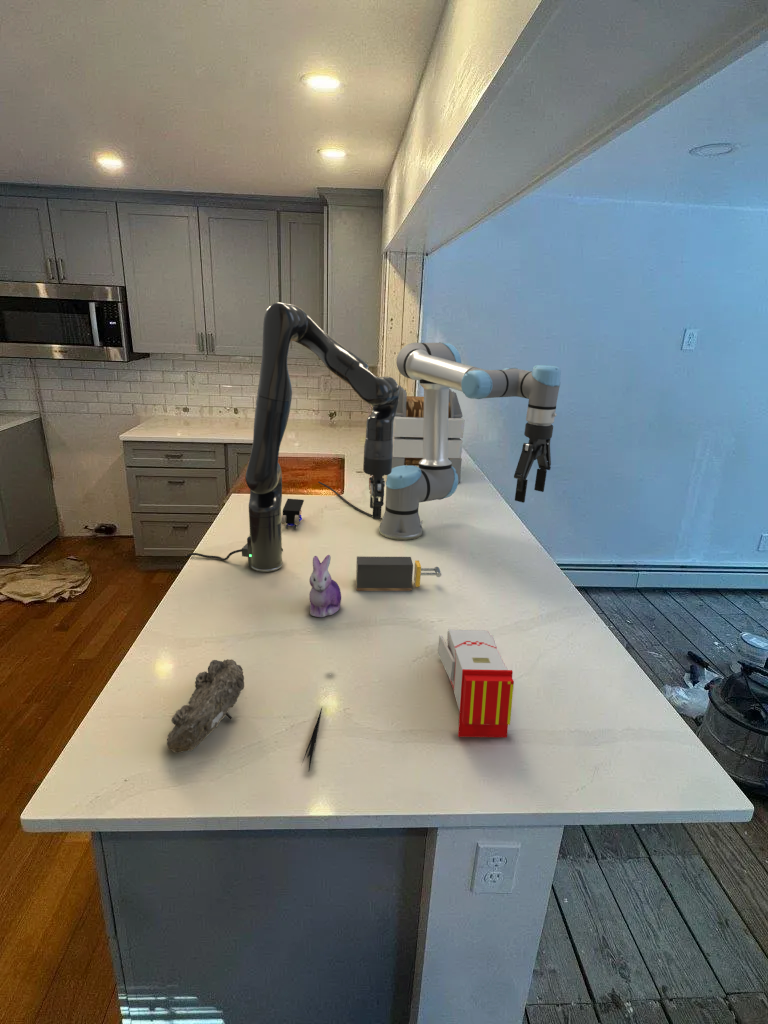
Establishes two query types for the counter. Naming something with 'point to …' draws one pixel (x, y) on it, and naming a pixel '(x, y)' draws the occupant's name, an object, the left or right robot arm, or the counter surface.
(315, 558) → the figurine
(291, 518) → the figurine character
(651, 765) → the counter surface
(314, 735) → the feather
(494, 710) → the toy
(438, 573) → the drawer
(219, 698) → the fossil
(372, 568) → the dark grey box
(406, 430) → the transformer
